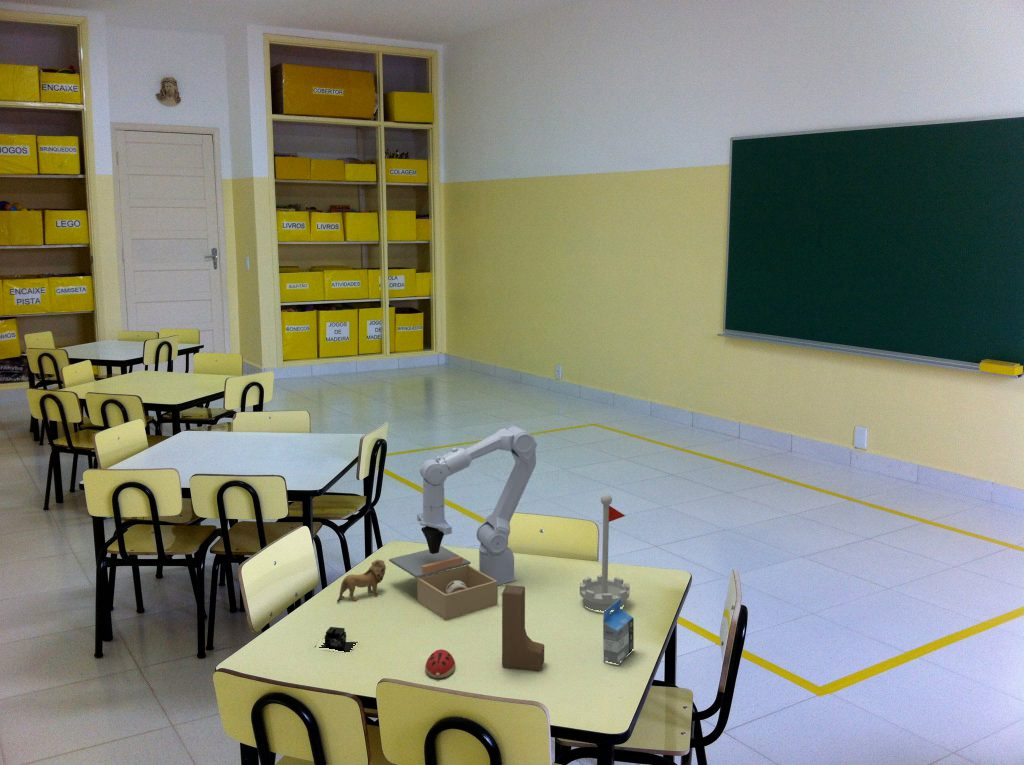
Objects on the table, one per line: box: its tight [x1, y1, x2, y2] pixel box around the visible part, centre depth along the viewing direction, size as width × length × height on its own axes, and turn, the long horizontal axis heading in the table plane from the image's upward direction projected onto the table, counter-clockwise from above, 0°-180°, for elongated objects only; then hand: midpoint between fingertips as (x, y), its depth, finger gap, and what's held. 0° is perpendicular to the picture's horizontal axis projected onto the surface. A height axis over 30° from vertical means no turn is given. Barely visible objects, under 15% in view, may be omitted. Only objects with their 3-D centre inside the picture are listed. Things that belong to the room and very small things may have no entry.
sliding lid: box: [388, 545, 472, 579], centre depth 244 cm, size 17×15×2 cm
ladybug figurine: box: [424, 648, 456, 679], centre depth 199 cm, size 7×10×4 cm
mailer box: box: [416, 564, 499, 621], centre depth 234 cm, size 16×14×6 cm
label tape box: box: [602, 599, 635, 665], centre depth 204 cm, size 9×4×12 cm, turn 148°
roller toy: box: [445, 580, 468, 594], centre depth 234 cm, size 4×6×6 cm
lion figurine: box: [336, 559, 387, 603], centre depth 238 cm, size 15×5×9 cm, turn 130°
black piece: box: [319, 626, 359, 653], centre depth 210 cm, size 12×7×5 cm, turn 80°
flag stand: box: [579, 493, 631, 611], centre depth 232 cm, size 13×13×30 cm
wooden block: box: [501, 584, 545, 671], centre depth 200 cm, size 9×4×18 cm, turn 78°
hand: (434, 552), depth 242 cm, fingers closed
